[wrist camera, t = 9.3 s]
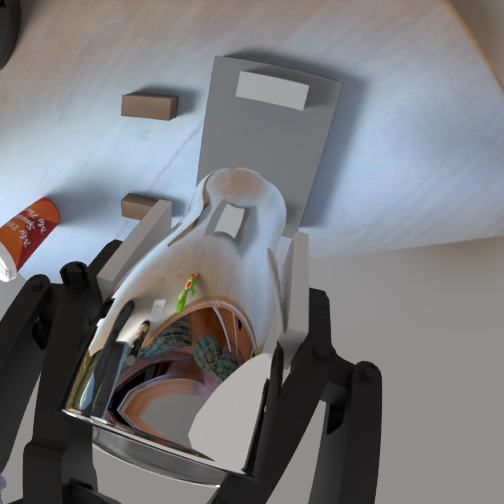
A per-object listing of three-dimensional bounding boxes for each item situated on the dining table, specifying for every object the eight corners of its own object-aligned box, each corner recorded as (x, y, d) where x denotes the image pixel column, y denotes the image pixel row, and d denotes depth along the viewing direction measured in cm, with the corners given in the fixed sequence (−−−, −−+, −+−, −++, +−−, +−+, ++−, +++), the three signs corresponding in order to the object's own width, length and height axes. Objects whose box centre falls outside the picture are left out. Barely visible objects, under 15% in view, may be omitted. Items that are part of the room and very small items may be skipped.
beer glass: (315, 223, 18) (317, 491, 6) (234, 270, 21) (175, 483, 9) (244, 135, 16) (89, 402, 4) (165, 202, 19) (29, 408, 7)
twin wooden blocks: (131, 93, 28) (122, 95, 26) (178, 96, 28) (171, 99, 26) (129, 208, 37) (122, 216, 36) (168, 217, 37) (162, 225, 36)
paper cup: (66, 204, 38) (8, 259, 27) (62, 238, 43) (14, 292, 32) (34, 184, 37) (-25, 231, 26) (32, 218, 41) (-17, 266, 30)
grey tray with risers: (221, 56, 25) (209, 55, 21) (338, 81, 25) (345, 84, 21) (199, 204, 35) (187, 223, 32) (295, 227, 35) (294, 249, 32)
